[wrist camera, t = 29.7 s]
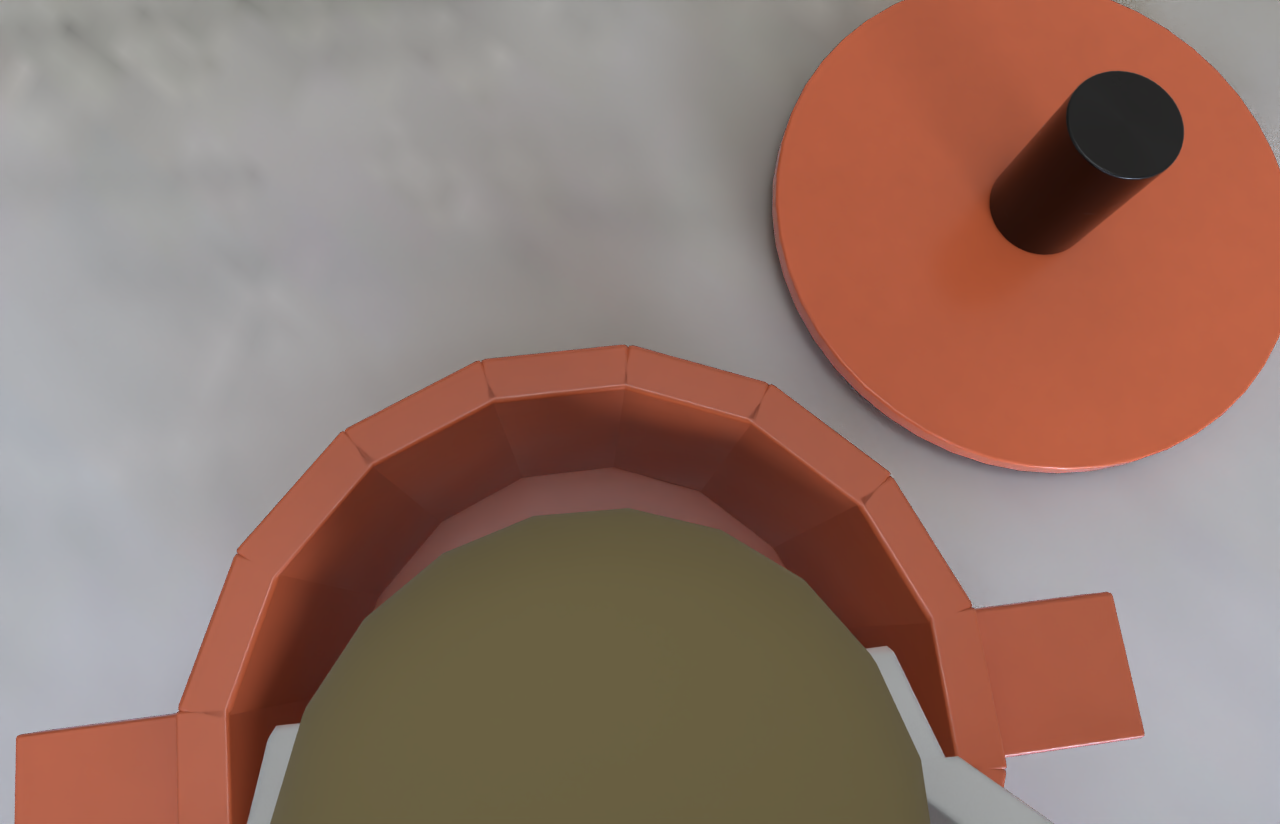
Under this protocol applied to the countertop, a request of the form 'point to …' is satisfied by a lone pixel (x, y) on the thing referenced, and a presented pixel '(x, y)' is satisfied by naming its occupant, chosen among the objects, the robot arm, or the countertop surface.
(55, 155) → the countertop surface
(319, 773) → the cork
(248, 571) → the pot
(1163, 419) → the pot lid
